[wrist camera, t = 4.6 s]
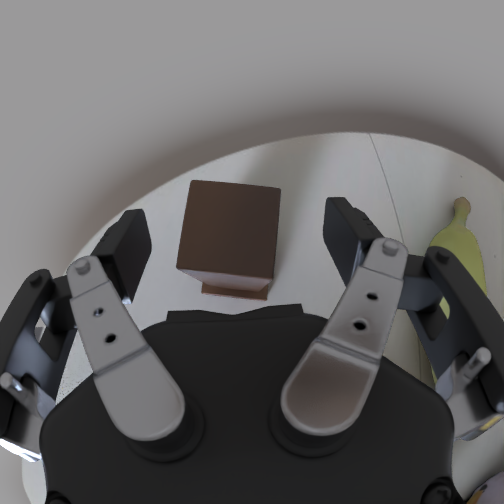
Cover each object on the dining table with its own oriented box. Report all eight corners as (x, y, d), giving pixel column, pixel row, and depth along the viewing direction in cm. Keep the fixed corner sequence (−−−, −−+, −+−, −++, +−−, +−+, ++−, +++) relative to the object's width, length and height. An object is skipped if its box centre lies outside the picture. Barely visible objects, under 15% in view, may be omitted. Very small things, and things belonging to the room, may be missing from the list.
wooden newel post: (203, 294, 18) (157, 282, 8) (211, 233, 18) (179, 164, 9) (265, 301, 18) (288, 298, 8) (271, 239, 18) (297, 176, 9)
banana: (453, 469, 8) (448, 161, 15) (395, 452, 14) (399, 193, 20) (518, 412, 12) (511, 212, 18) (477, 411, 17) (475, 229, 23)
